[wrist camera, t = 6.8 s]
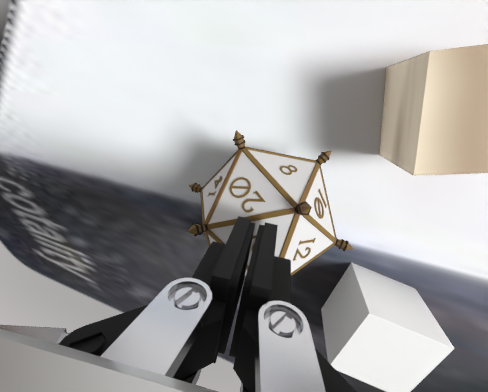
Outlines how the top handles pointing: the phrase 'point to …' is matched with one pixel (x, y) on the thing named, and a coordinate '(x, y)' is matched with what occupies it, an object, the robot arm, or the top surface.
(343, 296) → the white block
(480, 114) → the ash block
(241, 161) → the game die
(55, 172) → the top surface
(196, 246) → the top surface
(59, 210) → the top surface
